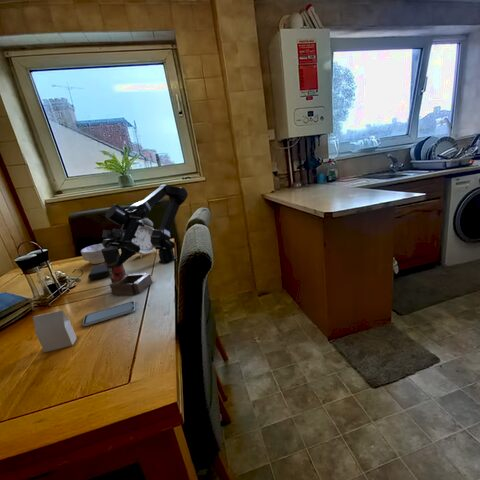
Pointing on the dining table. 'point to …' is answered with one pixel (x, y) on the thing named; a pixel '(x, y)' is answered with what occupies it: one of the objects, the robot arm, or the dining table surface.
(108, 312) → the smartphone
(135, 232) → the robot arm
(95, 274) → the carrying case
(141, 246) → the alarm clock
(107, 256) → the deodorant
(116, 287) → the holder
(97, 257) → the paper bowls
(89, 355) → the dining table surface
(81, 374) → the dining table surface
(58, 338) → the white angled block
